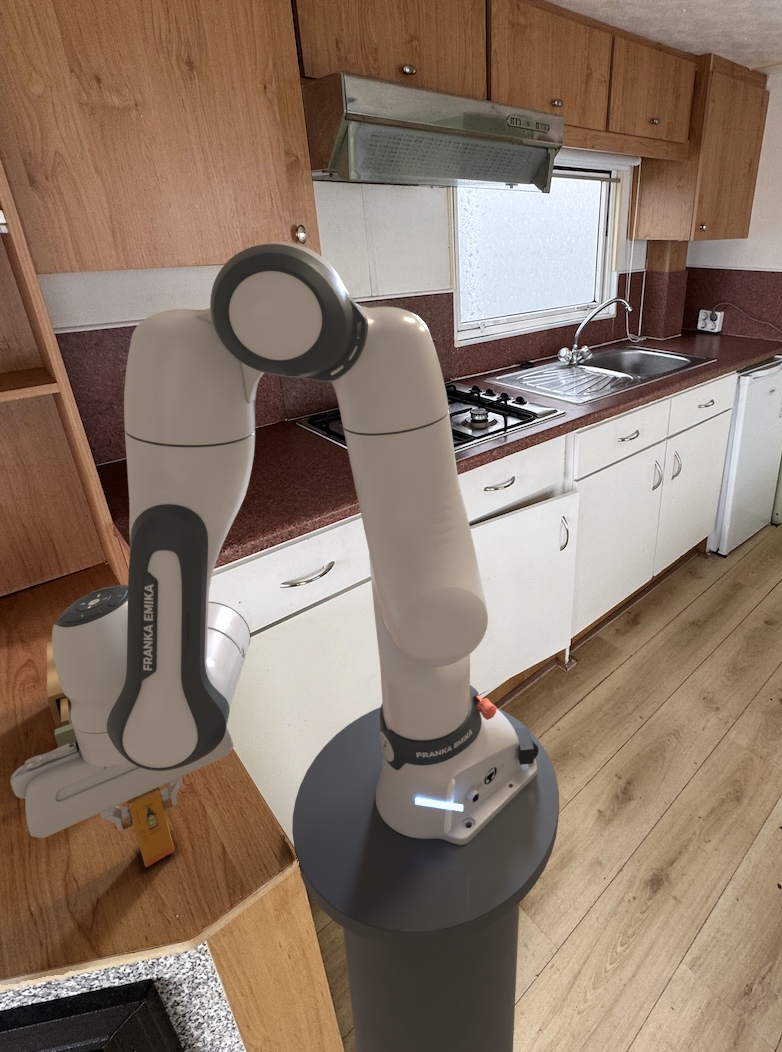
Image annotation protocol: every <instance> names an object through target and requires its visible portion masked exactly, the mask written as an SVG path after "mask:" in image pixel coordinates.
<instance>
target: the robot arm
mask: <svg viewBox="0 0 782 1052" xmlns="http://www.w3.org/2000/svg"><path fill="white" fill-rule="evenodd" d="M209 306H210V307H209V308H205V309H190V308H175V309H174V308H173V309H167V310H163V311H160V312H157V313H153V314H152V315H149V316H148V317H146V318H143V320H142V321H141V322H139V323H138V324H137V326H136V327H135V328H134V331H132V336H131V339H130V343H129V349H128V354H127V361H126V368H125V369H126V370H125V378H124V391H123V418H124V419H123V420H124V422H123V423H124V439H125V453H126V454H125V455H126V470H127V485H128V486H127V487H128V498H129V499H128V502H129V503H128V504H129V507H128V509H129V521H128V522H129V525H128V526H129V527H128V530H129V560H128V561H129V563H128V577H127V578H128V579H127V584H117V585H110V586H105V587H102V588H99V589H97V590H93V591H91V592H89V593H87V594H86V595H84V596H82V597H79V598H78V599H76V600H75V601H74V602H72V603H71V604H70V605H69V606H68V607H66V608H65V610H64V611H62V613H61V614H60V615H59V616H58V618H57V619H56V621H54V623H53V625H52V632H51V642H52V647H53V656H54V661H55V666H56V671H57V675H58V678H59V682H60V686H61V689H62V691H63V693H64V694H65V695H66V697H67V698H68V699H69V700H70V702H71V711H70V719H71V723H72V726H73V730H74V733H75V736H76V741H74V742H71V743H69V744H66V745H64V746H61V747H59V748H58V747H56V748H55V749H53V750H49V752H48V751H47V752H46V753H42V754H38V755H35V756H32V757H30V758H28V759H26V760H25V761H24V764H22V765H21V766H19V767H18V768H17V769H16V770H15V771H14V772H13V773H12V775H11V777H10V780H9V781H10V782H9V783H10V786H11V789H12V792H13V794H14V795H15V796H16V797H17V798H19V799H22V800H24V806H25V807H24V809H25V817H26V818H25V819H26V825H27V829H28V833H29V835H30V836H31V837H34V838H38V839H45V838H47V837H50V836H52V835H55V834H56V833H59V832H62V831H63V830H65V829H68V828H70V827H72V826H74V825H77V824H79V823H81V822H83V821H86V820H88V819H90V818H92V817H94V816H97V815H100V819H102V820H105V821H108V822H110V823H112V824H115V826H116V830H117V832H118V833H120V832H122V831H124V830H126V829H128V828H130V827H132V826H134V825H133V821H132V818H131V814H130V811H129V808H128V804H127V805H125V806H122V807H120V806H119V805H121V804H123V803H127V801H128V800H130V799H133V798H135V797H137V796H139V795H142V794H144V793H146V792H148V791H151V790H153V789H155V788H157V787H159V788H160V787H162V786H164V785H166V784H167V786H166V787H165V788H162V789H160V793H161V798H162V803H163V807H164V811H167V810H168V809H171V808H173V807H175V806H177V805H178V801H177V795H178V792H179V790H180V788H181V787H182V784H183V783H184V778H183V777H184V776H187V775H189V774H191V773H193V772H195V771H198V770H200V769H202V768H205V767H207V766H209V765H211V764H214V763H216V762H217V761H220V760H222V759H225V758H227V757H228V756H229V755H230V754H231V752H232V751H233V749H234V740H233V737H232V734H231V733H232V732H231V731H230V727H229V724H228V721H229V717H230V712H231V705H232V703H233V699H234V696H235V693H236V690H237V688H238V687H237V686H238V683H239V680H240V677H241V674H242V671H243V667H244V664H245V660H246V657H247V654H248V650H249V647H250V645H251V639H252V638H251V637H252V635H251V630H250V627H249V624H248V623H247V621H246V619H245V618H244V617H243V616H242V615H241V614H240V613H239V612H238V611H236V610H235V609H234V608H232V607H231V606H228V605H226V604H223V603H222V602H221V603H220V602H216V601H210V591H211V590H210V589H211V584H212V583H211V582H212V577H213V573H214V569H215V567H216V563H217V560H218V557H219V555H220V552H221V549H222V547H223V545H224V543H225V540H226V538H227V536H228V533H229V531H230V530H231V527H232V525H233V524H234V521H235V519H236V517H237V515H238V513H239V511H240V509H241V506H242V504H243V502H244V499H245V497H246V495H247V491H248V487H249V484H250V478H251V475H252V470H253V464H254V457H255V447H256V397H257V391H258V390H257V389H258V385H259V383H260V380H261V378H262V377H263V376H264V375H265V374H268V375H273V376H279V377H285V378H286V377H287V378H295V379H296V378H297V379H304V380H312V381H320V382H324V383H331V384H332V387H333V389H334V392H335V396H336V399H337V404H338V408H339V413H340V418H341V424H342V428H343V430H342V431H343V434H344V435H343V436H344V439H345V444H346V449H347V453H348V459H349V463H350V468H351V473H352V477H353V482H354V488H355V492H356V493H355V494H356V499H357V502H358V506H359V507H358V508H359V511H360V516H361V520H362V521H361V522H362V526H363V530H364V535H365V539H366V540H365V541H366V543H367V548H368V557H369V560H368V561H369V569H370V580H371V581H370V582H371V591H372V602H373V612H374V621H375V630H376V640H377V648H378V649H377V650H378V657H379V658H378V659H379V670H380V671H379V672H380V688H381V701H382V703H381V705H380V707H381V709H380V741H381V747H382V751H383V763H382V769H381V774H380V778H379V781H378V784H377V788H376V805H377V809H378V811H379V814H380V816H381V817H382V819H383V820H384V821H385V823H386V824H387V825H388V826H390V827H391V828H392V829H393V830H395V831H396V832H398V833H400V834H403V835H405V836H408V837H412V838H419V839H434V838H436V839H443V840H446V841H448V842H451V843H454V844H458V845H465V844H467V843H468V842H470V841H471V840H472V839H473V838H474V837H475V836H476V835H477V834H478V833H479V832H480V831H481V830H482V829H483V828H484V827H485V826H486V825H487V824H488V823H489V822H490V821H491V820H492V819H493V818H494V817H495V816H496V815H497V814H498V813H499V812H500V811H501V810H502V809H503V808H504V807H505V806H506V805H507V804H508V803H509V802H510V801H511V800H512V799H513V798H514V797H515V796H516V795H517V794H518V793H519V792H520V791H521V790H522V789H523V788H524V787H525V786H526V785H527V784H528V783H529V782H530V781H531V780H532V779H533V778H534V777H535V776H536V775H537V765H536V760H535V758H536V757H537V755H538V751H539V748H538V746H537V745H536V744H535V743H534V742H533V741H532V740H531V736H530V732H529V730H530V728H529V726H525V727H519V728H515V729H514V728H513V726H512V725H511V723H510V722H509V721H508V719H507V718H506V717H505V716H504V715H503V714H502V713H501V712H500V711H499V710H498V709H497V708H498V707H497V706H496V705H495V704H494V703H492V702H491V701H490V699H489V698H487V697H484V698H482V697H480V696H479V692H478V690H477V689H476V688H475V686H473V685H471V654H472V653H473V652H474V651H475V650H476V648H478V646H479V645H480V643H481V642H482V640H483V639H484V637H485V635H486V632H487V629H488V623H489V616H488V614H489V613H488V608H487V603H486V598H485V593H484V589H483V584H482V580H481V574H480V569H479V568H480V567H479V563H478V558H477V554H476V548H475V543H474V539H473V534H472V531H471V526H470V521H469V518H468V514H467V510H466V505H465V502H464V497H463V494H462V489H461V485H460V480H459V474H458V468H457V461H456V453H455V446H454V437H453V429H452V423H451V416H450V408H449V401H448V395H447V390H446V389H447V388H446V385H445V380H444V375H443V371H442V368H441V363H440V360H439V356H438V354H437V350H436V346H435V343H434V341H433V338H432V335H431V333H430V329H429V328H428V326H427V324H426V323H425V322H424V321H423V320H422V318H421V317H420V316H418V315H417V314H415V313H413V312H411V311H409V310H406V309H404V308H400V307H394V306H376V307H367V306H363V305H361V304H358V303H356V301H355V300H354V299H353V297H352V296H351V295H350V294H349V292H348V290H347V288H346V287H345V285H344V283H343V281H342V279H341V277H340V275H339V274H338V273H337V271H336V270H335V269H334V267H333V266H332V264H331V263H329V261H327V260H326V259H325V258H324V257H322V256H321V255H320V254H318V253H317V252H315V251H314V250H312V249H311V248H308V247H306V246H304V245H301V244H299V243H294V242H288V241H270V242H269V241H268V242H264V243H260V244H256V245H254V246H251V247H248V248H245V249H243V250H241V251H240V252H238V253H236V254H235V255H233V256H232V257H231V258H229V259H228V260H227V261H226V262H225V263H224V265H223V266H222V267H221V269H220V270H219V272H218V273H217V275H216V277H215V279H214V281H213V285H212V288H211V293H210V302H209ZM496 707H497V708H496ZM467 826H471V828H467Z"/></svg>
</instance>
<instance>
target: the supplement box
mask: <svg viewBox="0 0 782 1052" xmlns="http://www.w3.org/2000/svg"><path fill="white" fill-rule="evenodd" d="M160 791H161V789H160V787H157V788H155V789H153V790H151V791H148V792H146V793H144V794H142V795H139V796H137V797H135V798H133V799H130V800H128V801H126V804H127V805H128V808H129V811H130V814H131V818H132V823H133V825H132V826H133V828H134V831H135V835H136V839H137V842H138V845H139V849H140V854H141V857H142V860H143V865H144V867H146V868H148V867H150V866H153V864H155V863H156V862H158V861H160V860H162V859H164V858H165V857H167V856H169V855H171V854H173V853H174V852H175V850H176V849H175V845H174V843H173V842H174V841H173V838H172V834H171V831H170V827H169V823H168V819H167V816H166V815H167V814H166V812H165V811H166V810H164V807H163V803H162V798H161V793H160Z"/></svg>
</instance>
